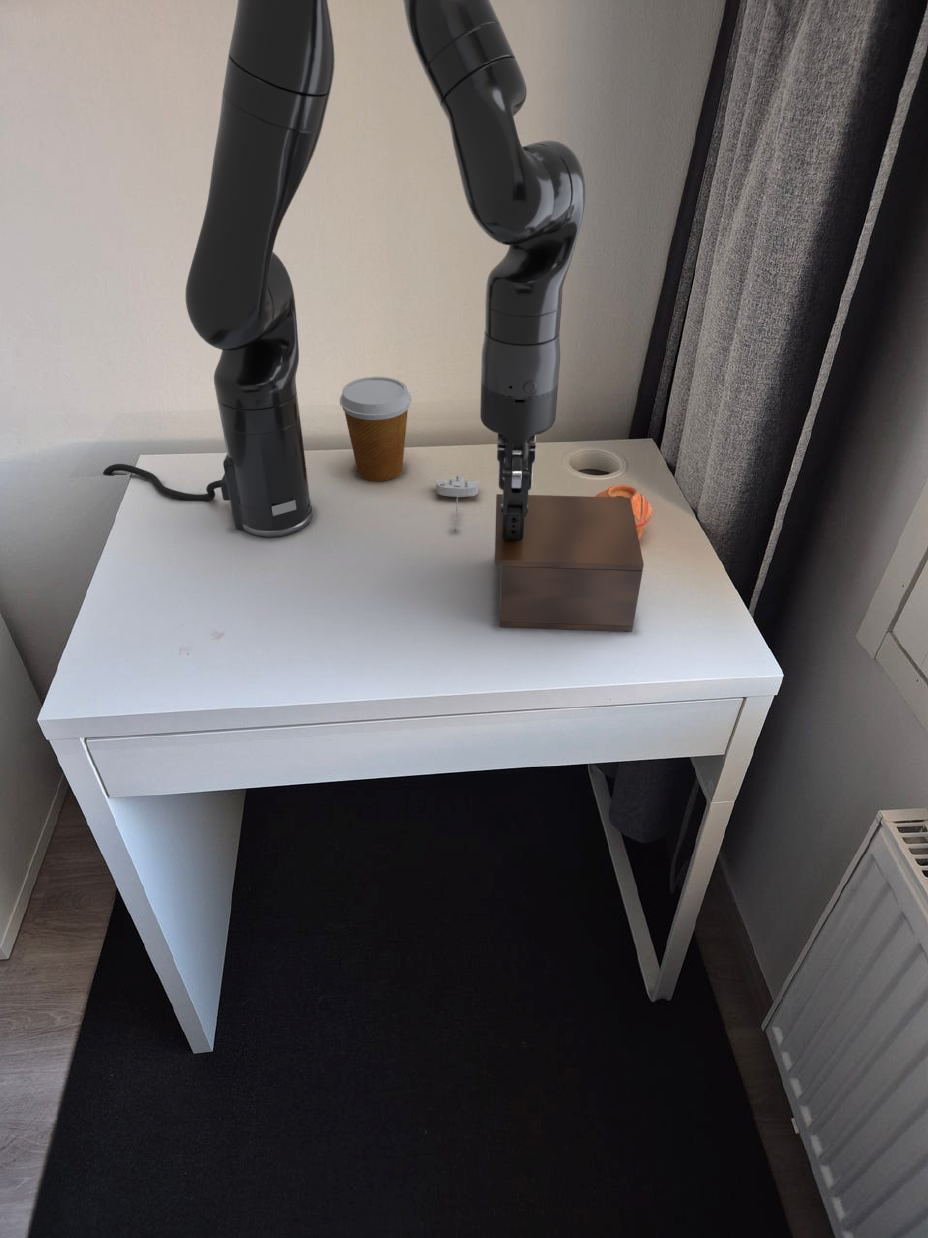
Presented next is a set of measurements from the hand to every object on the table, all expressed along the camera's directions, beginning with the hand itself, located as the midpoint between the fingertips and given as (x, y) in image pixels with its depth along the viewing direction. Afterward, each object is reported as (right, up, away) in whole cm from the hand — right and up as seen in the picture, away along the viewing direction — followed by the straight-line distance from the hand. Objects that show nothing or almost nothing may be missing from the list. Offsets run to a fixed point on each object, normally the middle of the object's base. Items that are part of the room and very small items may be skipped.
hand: (512, 523), depth 95 cm
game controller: (-7, +4, +20) cm, 22 cm away
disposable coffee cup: (-17, +10, +27) cm, 34 cm away
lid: (+6, -1, +1) cm, 6 cm away
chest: (+6, -7, +6) cm, 11 cm away
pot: (+14, 0, +16) cm, 21 cm away
